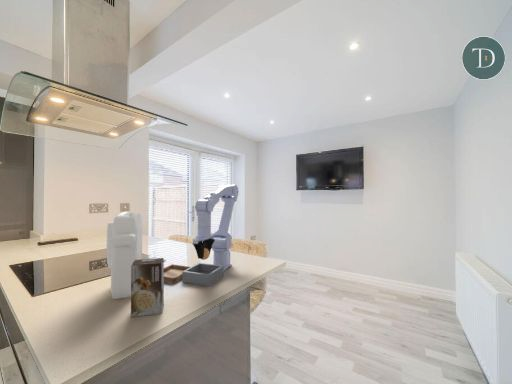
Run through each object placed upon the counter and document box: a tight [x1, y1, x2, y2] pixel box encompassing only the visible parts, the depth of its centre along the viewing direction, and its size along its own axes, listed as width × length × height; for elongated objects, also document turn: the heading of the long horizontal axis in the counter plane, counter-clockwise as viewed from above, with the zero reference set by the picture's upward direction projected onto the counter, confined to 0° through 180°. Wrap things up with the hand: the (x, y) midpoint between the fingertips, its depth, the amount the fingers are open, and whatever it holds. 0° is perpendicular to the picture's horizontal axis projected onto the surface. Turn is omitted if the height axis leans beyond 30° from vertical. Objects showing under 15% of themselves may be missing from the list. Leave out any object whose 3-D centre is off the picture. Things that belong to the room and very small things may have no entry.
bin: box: [181, 262, 224, 287], centre depth 101 cm, size 13×13×4 cm
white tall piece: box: [106, 211, 143, 300], centre depth 90 cm, size 27×11×30 cm, turn 21°
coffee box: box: [130, 257, 165, 318], centre depth 73 cm, size 9×6×16 cm
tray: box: [164, 264, 191, 285], centre depth 104 cm, size 15×13×2 cm
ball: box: [201, 248, 211, 261], centre depth 101 cm, size 5×5×5 cm
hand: (203, 256), depth 101 cm, fingers closed on ball, 5 cm apart
